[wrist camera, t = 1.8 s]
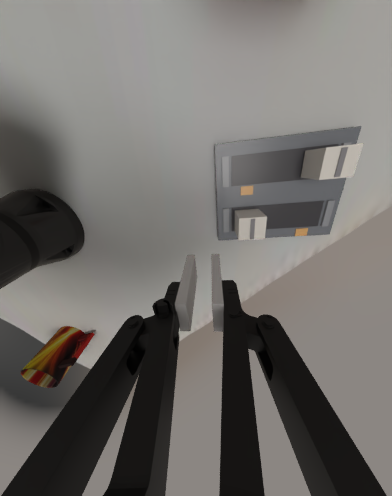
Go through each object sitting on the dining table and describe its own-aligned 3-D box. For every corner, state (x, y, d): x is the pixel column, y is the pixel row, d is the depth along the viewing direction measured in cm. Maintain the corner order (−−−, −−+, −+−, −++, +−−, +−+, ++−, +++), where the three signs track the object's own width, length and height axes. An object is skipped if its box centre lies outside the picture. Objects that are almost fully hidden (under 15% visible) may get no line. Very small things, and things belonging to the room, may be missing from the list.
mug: (97, 330, 51) (67, 373, 40) (82, 348, 56) (52, 391, 46) (68, 315, 49) (28, 357, 38) (55, 335, 54) (17, 377, 44)
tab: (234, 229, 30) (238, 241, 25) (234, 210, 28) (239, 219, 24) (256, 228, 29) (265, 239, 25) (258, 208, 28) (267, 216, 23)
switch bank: (218, 237, 33) (218, 241, 31) (214, 145, 26) (214, 144, 24) (324, 231, 31) (331, 235, 29) (352, 128, 23) (364, 125, 22)
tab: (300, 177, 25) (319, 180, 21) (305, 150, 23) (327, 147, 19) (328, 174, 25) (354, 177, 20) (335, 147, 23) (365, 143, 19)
